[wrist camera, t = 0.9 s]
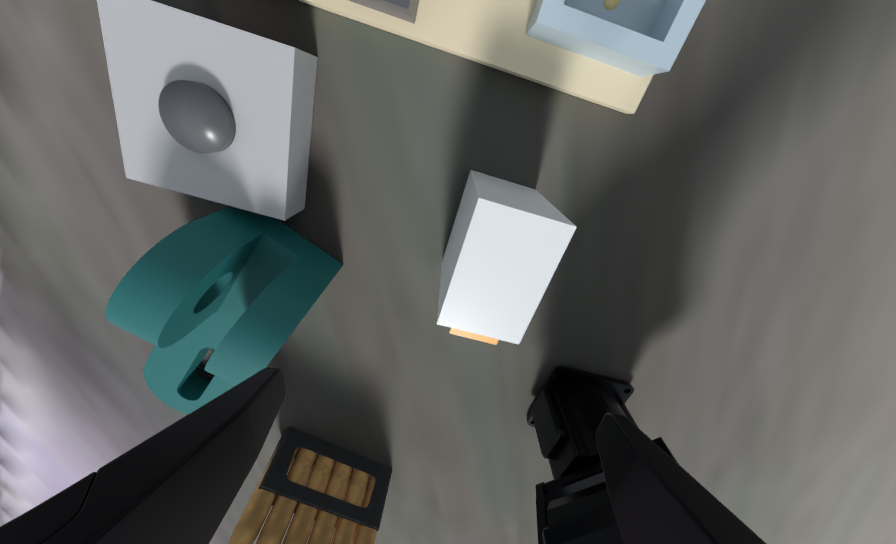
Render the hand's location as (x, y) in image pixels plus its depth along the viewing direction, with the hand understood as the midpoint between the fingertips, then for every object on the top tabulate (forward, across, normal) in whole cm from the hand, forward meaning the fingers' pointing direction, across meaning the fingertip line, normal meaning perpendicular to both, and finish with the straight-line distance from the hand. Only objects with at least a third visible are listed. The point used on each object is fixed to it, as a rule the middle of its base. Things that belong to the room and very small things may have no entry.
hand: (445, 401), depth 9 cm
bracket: (+13, +14, +9) cm, 21 cm away
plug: (+13, -2, -1) cm, 13 cm away
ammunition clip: (+13, +7, +23) cm, 27 cm away
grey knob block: (+12, +13, -5) cm, 19 cm away
